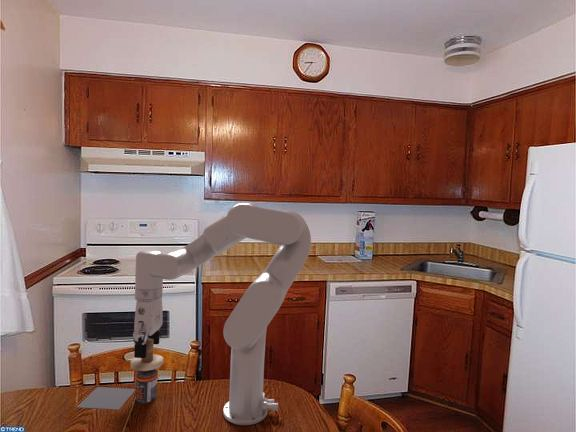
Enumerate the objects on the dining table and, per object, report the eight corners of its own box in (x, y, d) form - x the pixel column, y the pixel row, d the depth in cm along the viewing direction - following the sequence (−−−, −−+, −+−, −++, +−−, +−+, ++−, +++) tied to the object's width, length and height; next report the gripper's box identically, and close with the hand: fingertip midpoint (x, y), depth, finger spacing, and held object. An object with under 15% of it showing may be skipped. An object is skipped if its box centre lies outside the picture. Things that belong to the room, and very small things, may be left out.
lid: (167, 358, 112) (168, 335, 112) (156, 371, 103) (157, 347, 103) (138, 356, 112) (139, 334, 112) (124, 370, 103) (125, 345, 103)
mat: (135, 392, 113) (136, 389, 113) (118, 413, 102) (118, 409, 102) (97, 390, 113) (97, 387, 113) (76, 410, 102) (76, 407, 102)
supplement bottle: (130, 403, 107) (131, 365, 107) (146, 393, 112) (147, 357, 112) (144, 409, 104) (145, 370, 104) (161, 399, 110) (162, 362, 109)
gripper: (149, 301, 98) (148, 364, 99) (171, 286, 115) (170, 339, 116) (122, 300, 98) (120, 362, 99) (148, 285, 116) (146, 338, 116)
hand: (147, 350), depth 108 cm, fingers open, 9 cm apart
